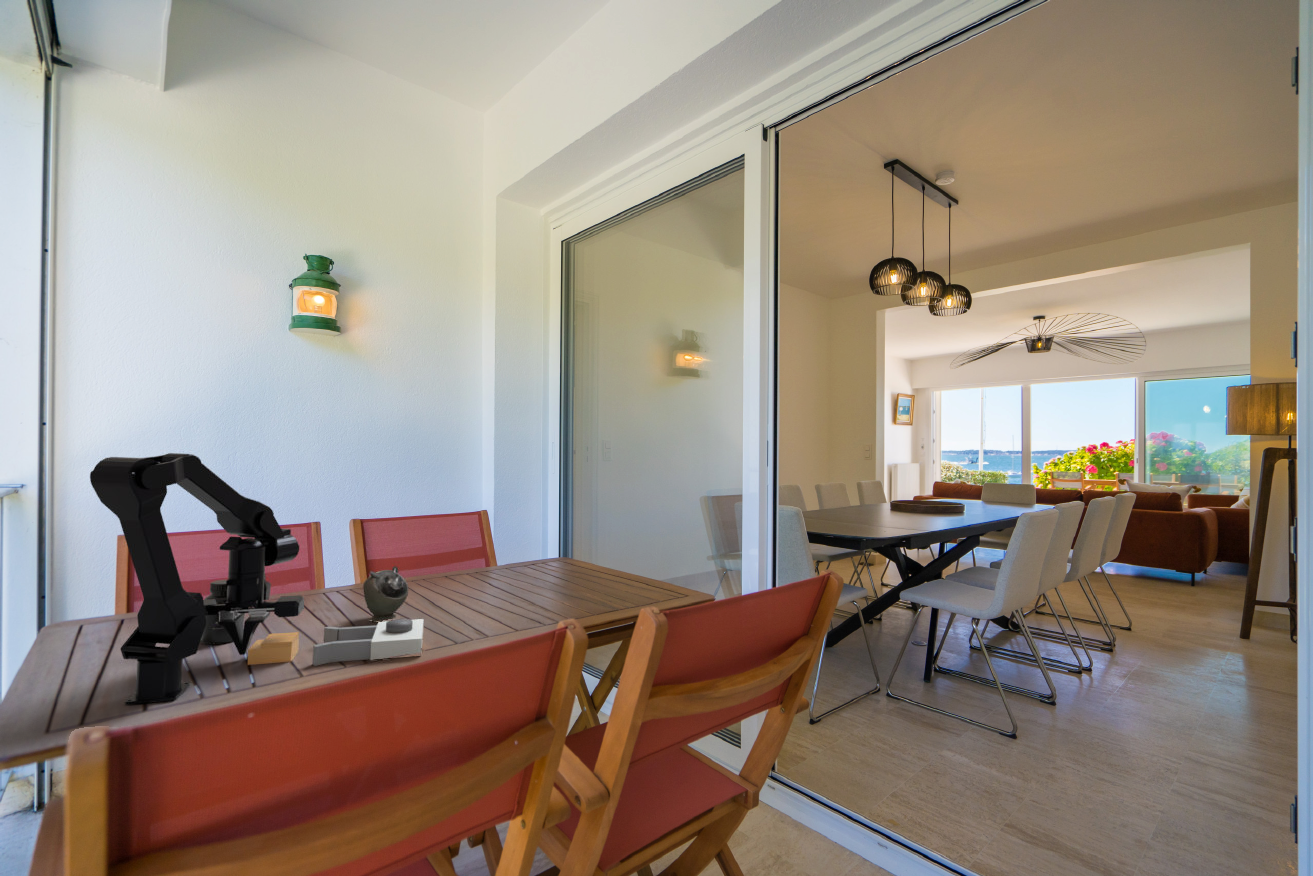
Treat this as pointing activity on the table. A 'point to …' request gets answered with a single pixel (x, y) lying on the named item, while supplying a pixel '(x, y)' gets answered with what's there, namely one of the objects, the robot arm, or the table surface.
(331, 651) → the forked block with knob
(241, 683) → the table surface
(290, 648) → the orange stepped block
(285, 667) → the table surface
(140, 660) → the robot arm
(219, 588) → the supplement bottle
